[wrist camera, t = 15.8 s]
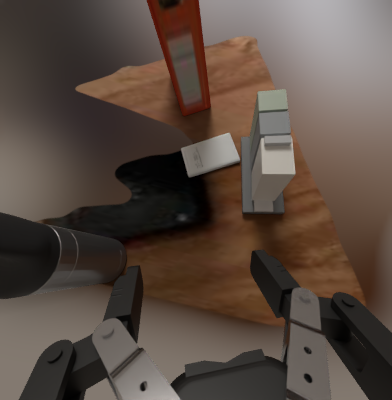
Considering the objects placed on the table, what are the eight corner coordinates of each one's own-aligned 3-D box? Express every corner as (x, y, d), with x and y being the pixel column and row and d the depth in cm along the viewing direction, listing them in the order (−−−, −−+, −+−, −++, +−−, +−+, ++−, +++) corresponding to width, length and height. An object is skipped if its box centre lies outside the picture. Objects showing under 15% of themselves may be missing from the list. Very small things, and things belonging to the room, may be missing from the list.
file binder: (181, 116, 50) (116, -97, 21) (170, 73, 56) (106, -143, 26) (210, 107, 50) (187, -126, 20) (196, 64, 56) (160, -166, 26)
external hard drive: (239, 163, 44) (189, 178, 45) (229, 136, 47) (181, 150, 48) (240, 160, 43) (188, 176, 43) (229, 131, 45) (180, 147, 46)
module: (251, 200, 38) (263, 171, 26) (251, 173, 40) (261, 134, 28) (275, 200, 37) (298, 171, 25) (274, 173, 39) (295, 134, 27)
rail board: (242, 213, 40) (250, 188, 26) (240, 140, 45) (246, 90, 32) (282, 214, 38) (311, 188, 25) (275, 139, 44) (297, 85, 31)
